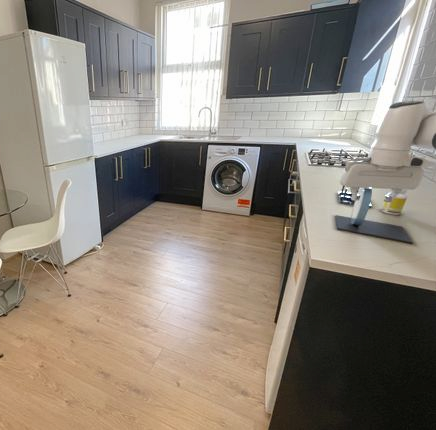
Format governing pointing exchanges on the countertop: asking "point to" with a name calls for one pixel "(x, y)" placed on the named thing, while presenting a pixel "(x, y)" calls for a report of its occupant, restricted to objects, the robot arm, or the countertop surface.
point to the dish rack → (346, 197)
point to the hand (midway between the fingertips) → (371, 200)
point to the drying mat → (373, 229)
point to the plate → (361, 206)
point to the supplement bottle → (395, 203)
